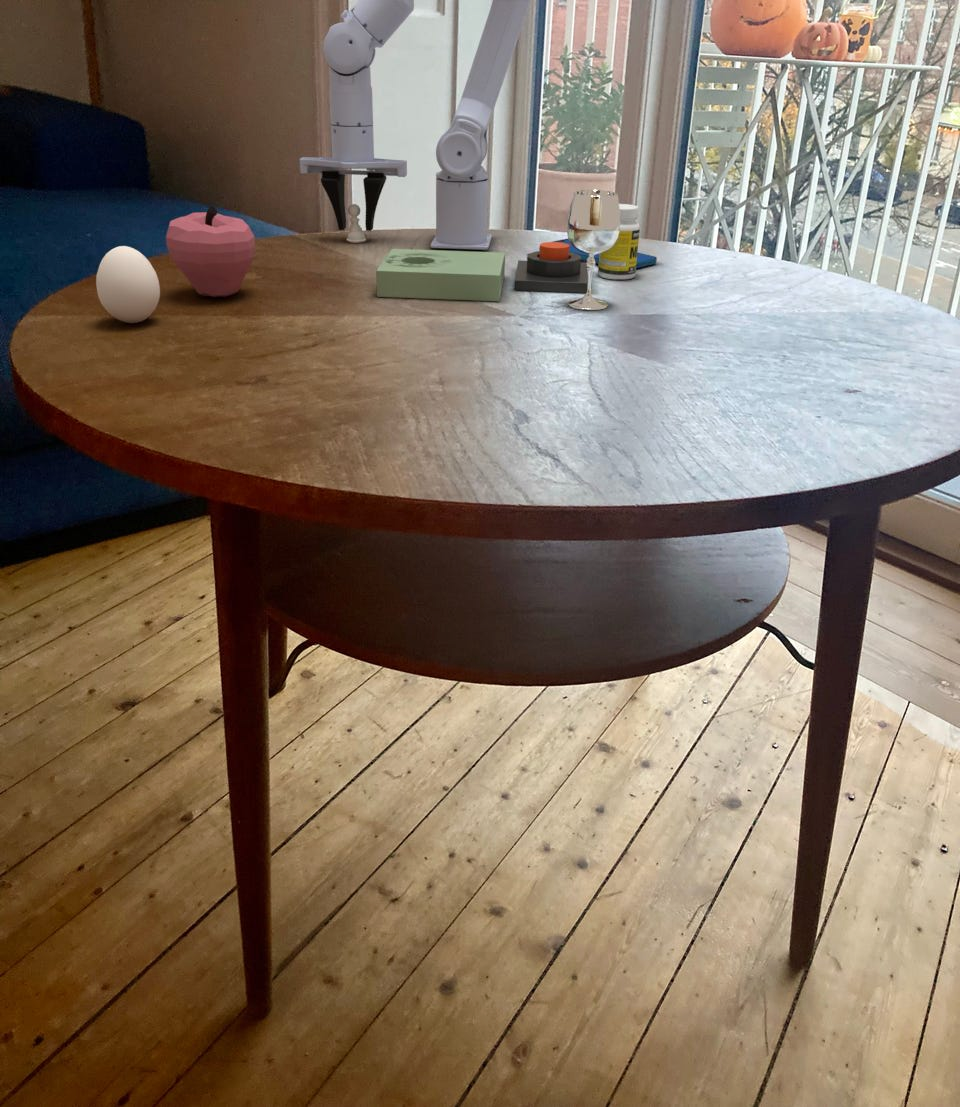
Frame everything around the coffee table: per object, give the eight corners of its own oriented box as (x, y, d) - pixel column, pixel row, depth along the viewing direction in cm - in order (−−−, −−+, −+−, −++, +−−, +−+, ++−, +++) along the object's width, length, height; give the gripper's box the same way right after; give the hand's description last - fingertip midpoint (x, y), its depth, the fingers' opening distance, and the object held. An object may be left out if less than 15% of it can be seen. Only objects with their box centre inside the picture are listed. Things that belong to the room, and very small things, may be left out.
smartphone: (626, 265, 126) (538, 244, 135) (625, 273, 127) (538, 251, 136) (660, 257, 131) (572, 237, 140) (659, 264, 131) (572, 244, 140)
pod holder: (392, 273, 123) (391, 248, 122) (504, 277, 123) (505, 252, 121) (376, 297, 113) (376, 270, 112) (499, 301, 112) (499, 274, 111)
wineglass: (579, 313, 108) (587, 198, 103) (552, 301, 113) (558, 190, 107) (623, 308, 111) (633, 195, 105) (594, 296, 115) (603, 187, 109)
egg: (128, 333, 98) (116, 255, 95) (89, 323, 101) (76, 247, 98) (176, 320, 103) (167, 245, 99) (138, 311, 106) (127, 237, 102)
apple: (273, 291, 114) (266, 201, 109) (228, 309, 107) (218, 212, 102) (205, 282, 117) (195, 193, 113) (157, 298, 110) (144, 204, 106)
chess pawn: (368, 242, 140) (367, 205, 137) (348, 243, 139) (346, 206, 137) (364, 238, 142) (362, 202, 140) (344, 239, 141) (343, 202, 139)
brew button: (539, 255, 122) (540, 241, 121) (568, 257, 122) (569, 242, 121) (538, 262, 119) (539, 247, 118) (568, 263, 119) (569, 248, 118)
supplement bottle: (633, 281, 122) (640, 210, 118) (595, 279, 123) (601, 208, 119) (636, 273, 126) (643, 204, 122) (599, 270, 127) (604, 202, 123)
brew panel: (517, 269, 127) (518, 245, 125) (588, 272, 126) (590, 248, 125) (514, 290, 117) (515, 264, 116) (590, 293, 117) (592, 267, 115)
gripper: (291, 126, 130) (298, 232, 137) (401, 129, 129) (402, 236, 136) (303, 121, 136) (310, 223, 143) (408, 124, 136) (409, 226, 142)
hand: (355, 229), depth 140 cm, fingers open, 3 cm apart
